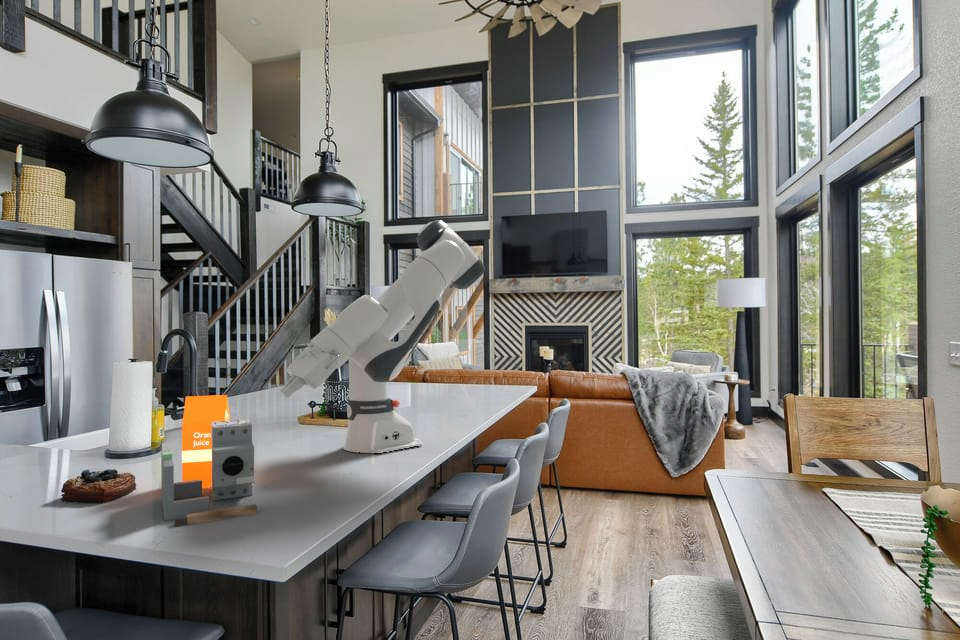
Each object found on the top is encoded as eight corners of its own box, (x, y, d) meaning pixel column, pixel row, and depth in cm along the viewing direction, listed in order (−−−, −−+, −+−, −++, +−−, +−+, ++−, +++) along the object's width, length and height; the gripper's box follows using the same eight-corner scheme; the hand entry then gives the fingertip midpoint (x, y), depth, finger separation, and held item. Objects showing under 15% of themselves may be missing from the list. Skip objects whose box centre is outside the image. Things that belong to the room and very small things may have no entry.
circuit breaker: (214, 509, 112) (214, 433, 112) (211, 490, 125) (211, 421, 125) (255, 503, 115) (254, 429, 115) (248, 485, 128) (248, 418, 128)
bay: (201, 493, 122) (201, 442, 122) (209, 513, 109) (208, 456, 109) (161, 499, 118) (161, 446, 118) (164, 520, 105) (164, 461, 105)
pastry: (94, 488, 127) (94, 461, 127) (144, 489, 126) (144, 463, 126) (52, 504, 116) (52, 475, 116) (107, 505, 115) (107, 476, 115)
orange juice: (225, 486, 127) (225, 397, 127) (181, 490, 124) (181, 398, 124) (230, 477, 134) (229, 392, 134) (188, 480, 132) (188, 394, 132)
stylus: (255, 512, 111) (255, 503, 111) (257, 514, 109) (257, 506, 109) (174, 524, 104) (174, 516, 104) (174, 527, 102) (174, 518, 102)
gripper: (352, 363, 121) (304, 411, 116) (327, 357, 139) (284, 398, 134) (332, 342, 119) (282, 390, 114) (309, 338, 137) (265, 380, 132)
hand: (283, 394), depth 124 cm, fingers closed
